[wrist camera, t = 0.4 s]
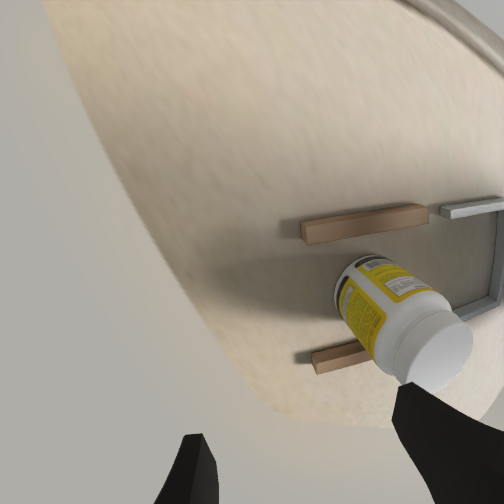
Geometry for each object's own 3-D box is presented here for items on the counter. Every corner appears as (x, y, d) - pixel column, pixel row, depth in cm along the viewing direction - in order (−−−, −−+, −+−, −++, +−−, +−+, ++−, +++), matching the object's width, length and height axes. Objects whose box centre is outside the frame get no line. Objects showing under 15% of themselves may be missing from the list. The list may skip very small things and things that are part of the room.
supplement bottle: (358, 333, 20) (418, 416, 12) (317, 292, 18) (378, 380, 10) (408, 284, 19) (487, 348, 11) (373, 237, 18) (464, 293, 10)
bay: (501, 197, 18) (512, 200, 17) (491, 299, 21) (499, 305, 20) (439, 206, 18) (450, 210, 16) (431, 324, 20) (439, 331, 19)
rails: (417, 203, 17) (428, 207, 16) (410, 335, 20) (418, 343, 19) (300, 222, 17) (305, 226, 16) (312, 364, 20) (316, 374, 19)
